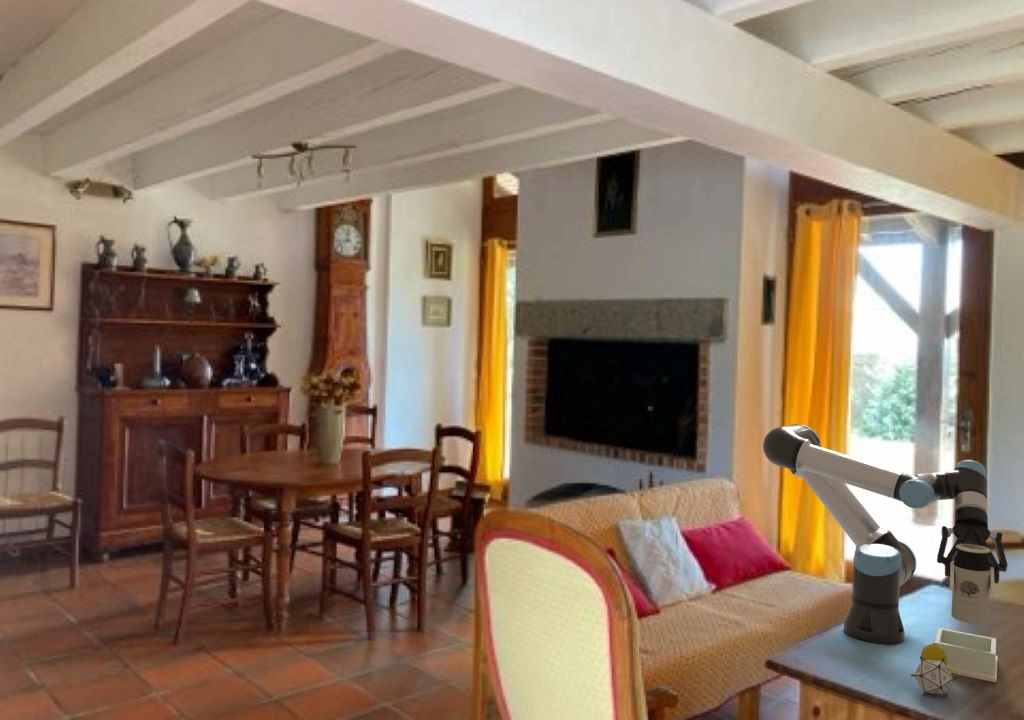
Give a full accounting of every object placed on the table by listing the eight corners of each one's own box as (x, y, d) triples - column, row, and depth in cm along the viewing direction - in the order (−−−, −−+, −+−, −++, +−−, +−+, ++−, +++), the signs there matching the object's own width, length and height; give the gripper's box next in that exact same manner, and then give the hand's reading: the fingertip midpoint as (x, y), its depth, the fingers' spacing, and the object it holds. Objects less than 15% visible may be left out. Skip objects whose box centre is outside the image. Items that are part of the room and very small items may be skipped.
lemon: (923, 669, 204) (924, 637, 204) (948, 676, 200) (950, 643, 200) (917, 676, 200) (918, 643, 199) (942, 683, 196) (944, 649, 196)
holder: (996, 682, 198) (997, 658, 197) (930, 668, 205) (931, 645, 204) (997, 658, 213) (998, 636, 213) (935, 646, 220) (936, 624, 220)
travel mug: (959, 612, 214) (962, 542, 213) (993, 621, 208) (996, 548, 207) (945, 618, 209) (949, 546, 208) (980, 627, 203) (983, 553, 202)
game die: (934, 707, 191) (955, 669, 193) (949, 709, 183) (971, 670, 185) (898, 683, 193) (918, 645, 196) (911, 684, 185) (933, 645, 188)
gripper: (1015, 526, 217) (1019, 605, 203) (926, 516, 226) (923, 591, 212) (1019, 509, 212) (1023, 589, 198) (927, 500, 221) (924, 575, 207)
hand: (971, 590), depth 205 cm, fingers closed on travel mug, 8 cm apart
